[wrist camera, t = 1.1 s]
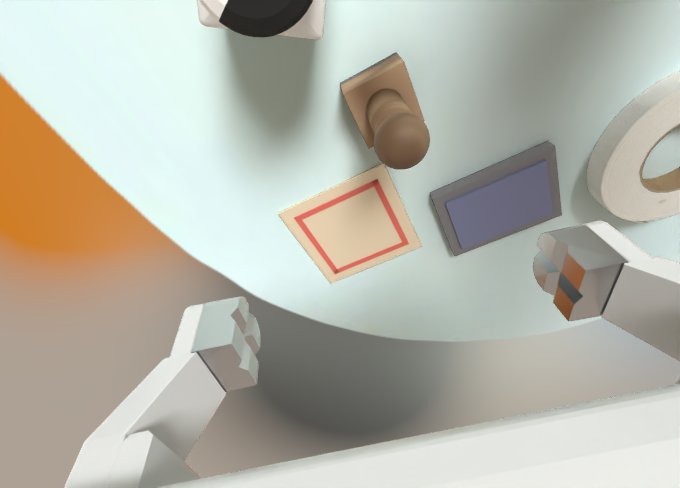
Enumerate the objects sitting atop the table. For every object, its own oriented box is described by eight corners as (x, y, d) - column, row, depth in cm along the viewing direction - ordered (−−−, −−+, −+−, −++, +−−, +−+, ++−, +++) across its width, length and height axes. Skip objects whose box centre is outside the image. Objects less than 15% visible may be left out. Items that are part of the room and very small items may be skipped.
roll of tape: (598, 91, 32) (619, 102, 30) (789, 34, 30) (826, 41, 28) (574, 223, 42) (589, 238, 39) (717, 186, 40) (741, 200, 38)
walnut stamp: (396, 52, 28) (434, 96, 20) (415, 108, 31) (456, 168, 23) (340, 83, 30) (353, 137, 21) (364, 134, 32) (385, 200, 24)
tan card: (383, 162, 34) (384, 164, 34) (421, 245, 42) (422, 246, 41) (278, 213, 37) (277, 214, 37) (330, 282, 44) (330, 283, 44)
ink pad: (548, 140, 34) (556, 147, 33) (555, 208, 40) (563, 216, 38) (429, 192, 37) (433, 200, 36) (451, 249, 42) (455, 258, 41)
